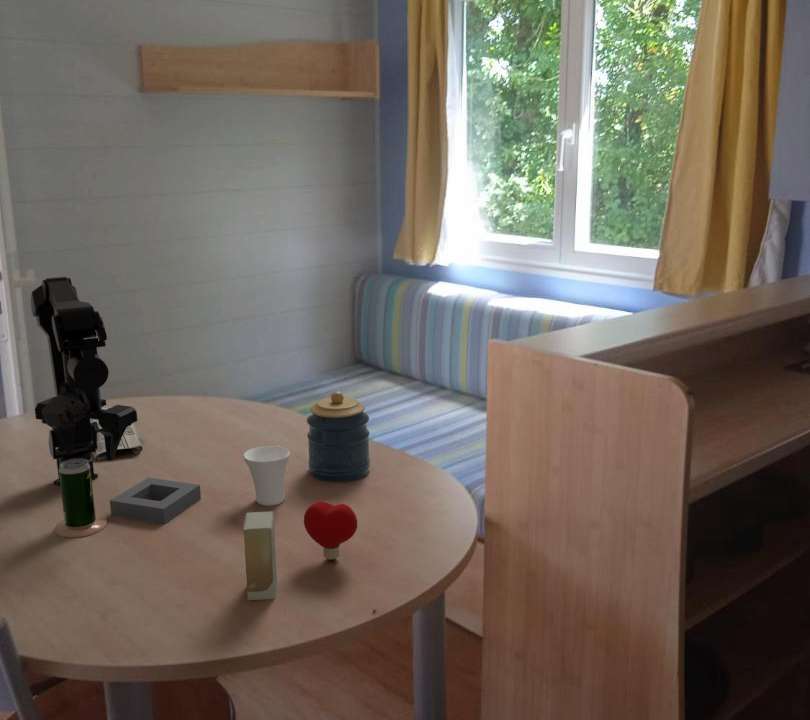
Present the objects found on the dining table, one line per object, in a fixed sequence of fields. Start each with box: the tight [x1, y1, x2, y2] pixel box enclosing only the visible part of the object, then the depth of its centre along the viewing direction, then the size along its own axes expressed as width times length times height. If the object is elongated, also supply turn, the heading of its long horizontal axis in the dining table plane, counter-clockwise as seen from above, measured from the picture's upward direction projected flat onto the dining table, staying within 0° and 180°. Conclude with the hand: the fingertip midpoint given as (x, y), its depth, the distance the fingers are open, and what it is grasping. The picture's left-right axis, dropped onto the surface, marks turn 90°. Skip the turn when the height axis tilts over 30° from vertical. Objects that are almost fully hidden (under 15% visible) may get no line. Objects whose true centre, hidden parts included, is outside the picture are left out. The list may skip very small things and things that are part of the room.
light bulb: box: [303, 500, 358, 561], centre depth 149 cm, size 9×7×10 cm
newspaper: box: [90, 406, 146, 461], centre depth 212 cm, size 35×12×4 cm, turn 27°
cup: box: [242, 444, 291, 507], centre depth 173 cm, size 9×9×10 cm
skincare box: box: [243, 510, 278, 601], centre depth 138 cm, size 6×4×12 cm
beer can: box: [58, 458, 96, 530], centre depth 162 cm, size 5×5×12 cm
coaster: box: [54, 514, 108, 539], centre depth 163 cm, size 9×9×1 cm
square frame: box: [109, 477, 202, 525], centre depth 171 cm, size 12×12×3 cm
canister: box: [306, 390, 371, 483], centre depth 186 cm, size 13×13×18 cm
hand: (90, 457), depth 164 cm, fingers open, 9 cm apart
